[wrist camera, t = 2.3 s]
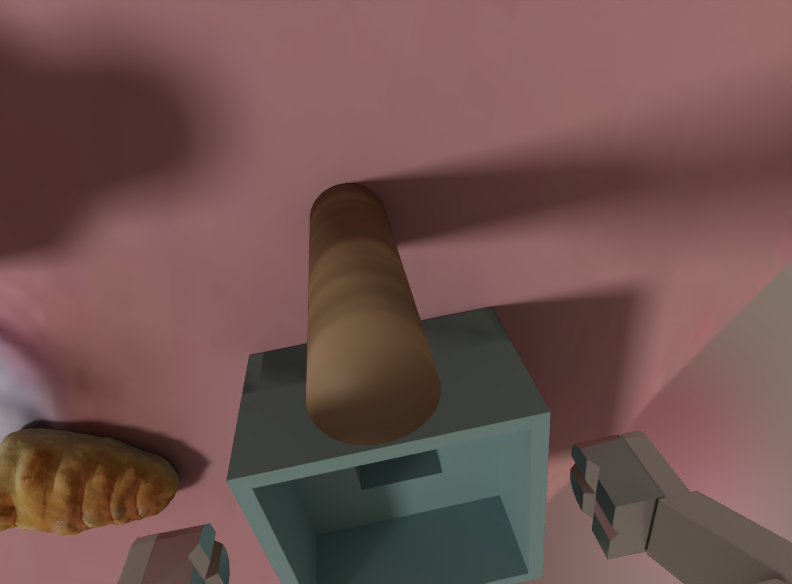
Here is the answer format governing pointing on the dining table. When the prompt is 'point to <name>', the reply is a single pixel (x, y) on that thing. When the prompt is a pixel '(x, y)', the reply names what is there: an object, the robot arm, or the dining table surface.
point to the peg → (363, 326)
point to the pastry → (78, 481)
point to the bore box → (401, 472)
